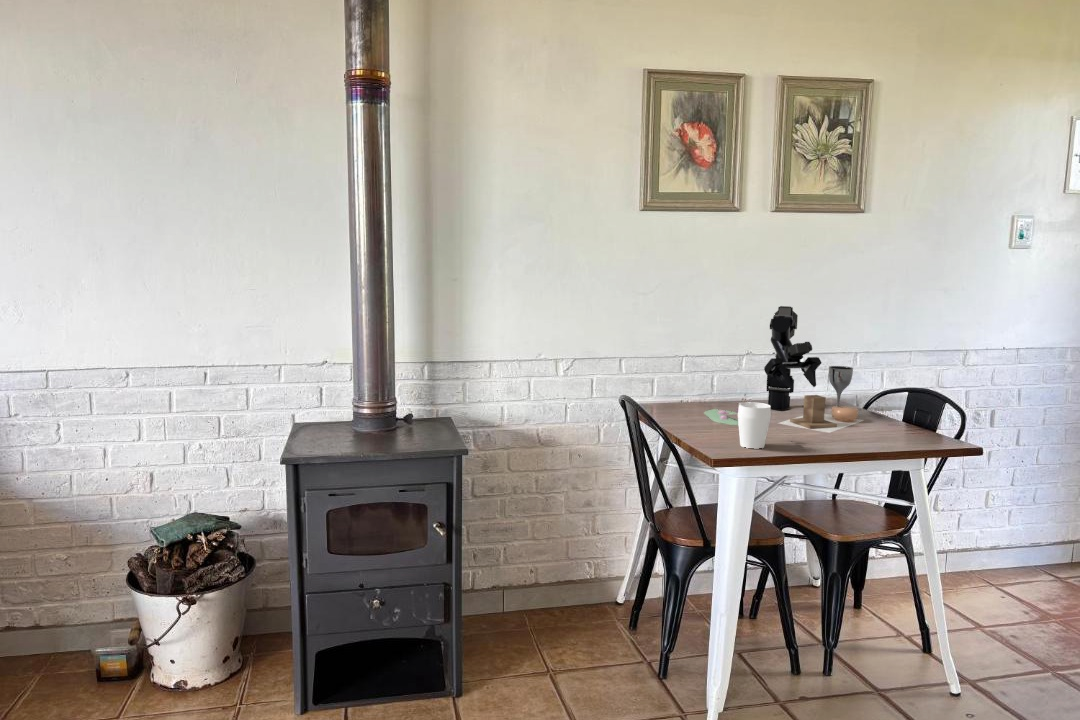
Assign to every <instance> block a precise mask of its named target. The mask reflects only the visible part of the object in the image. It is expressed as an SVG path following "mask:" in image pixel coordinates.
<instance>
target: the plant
mask: <svg viewBox="0 0 1080 720" xmlns="http://www.w3.org/2000/svg"><path fill="white" fill-rule="evenodd" d="M743 396H744V397H746V396H747V394H746V393H745V394H744V395H743ZM751 400H752V399H751V398H749V399H746V398H741V402H740V403H742V402H751ZM735 404H736V408H735V409H736V410H735V411H732V412H731V410H726V411H725V409H719V410H718V408H712V409H709V410H706V411H704V412H703V414H704V415H705V416H706V417H707V418H709V419H710V420H711V421H712V422H715V423H718V424H722V425H728V426H729V425H730V426H739V424H738V419H736V418H734V417H730V416H728V415H738V409H739V402H735Z"/></svg>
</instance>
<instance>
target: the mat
mask: <svg viewBox="0 0 1080 720" xmlns="http://www.w3.org/2000/svg"><path fill="white" fill-rule="evenodd" d="M796 418H803V415H800V416H796V417H793V418H792V419H796ZM824 420H826V421H829V422H832V423H836V424H837V427H831V428H817V429H809V428H806V427H803V426H800V425H797V424H794V423H791V422H790V419H787V420H784V421H781V422H777V424H778V425H779V424H780V425H783V426H789V427H796V428H801V429H804V430H805V429H807V430H810V431H811V430H812V431H817V432H822V433H828V434H830V433H833V432H836V431H839V430H842V429H844V428H847V427H850V426H852V425H856V424H858V423H861V422H864V421H865V420H864V419H859V418H858V419H856V420H854V421H853V422H841V421H837V420H835V418H833V417H832V414H831V413H825V414H824Z"/></svg>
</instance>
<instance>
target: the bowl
mask: <svg viewBox="0 0 1080 720" xmlns="http://www.w3.org/2000/svg"><path fill="white" fill-rule="evenodd" d="M831 415H832V417H833V418H835V420H837V421H841V422H853V421H854V420H856V419H859V408H858V407H855V406H849V405H839V406H837V405H833V406H831Z"/></svg>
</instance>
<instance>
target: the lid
mask: <svg viewBox="0 0 1080 720" xmlns="http://www.w3.org/2000/svg"><path fill="white" fill-rule="evenodd" d="M825 411H826V397H825V396H822V395H818V394H809V395H804V398H803V410H802V412H803V413H802V416H803V418H796V417H795V418H796V419H793V418H789V420H790V422H791V423H794V424H797V425H800V426H803V427H806V428H809V429H808V430H811V429H817V428H831V427H837V424H836V423H832V422H829V421H826V420H824V414H826V412H825Z"/></svg>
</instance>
